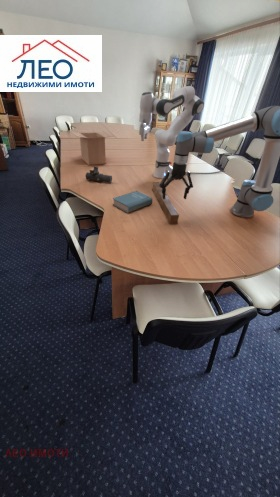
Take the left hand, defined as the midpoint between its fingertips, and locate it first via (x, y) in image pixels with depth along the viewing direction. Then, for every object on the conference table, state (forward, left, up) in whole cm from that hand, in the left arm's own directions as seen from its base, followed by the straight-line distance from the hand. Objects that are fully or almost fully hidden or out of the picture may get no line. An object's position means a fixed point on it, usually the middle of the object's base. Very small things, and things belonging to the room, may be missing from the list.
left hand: (144, 139), depth 169 cm
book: (+24, +34, -35) cm, 55 cm away
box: (+19, -77, -35) cm, 87 cm away
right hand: (+9, +61, -21) cm, 65 cm away
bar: (+3, +40, -35) cm, 54 cm away
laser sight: (+32, -18, -35) cm, 51 cm away
